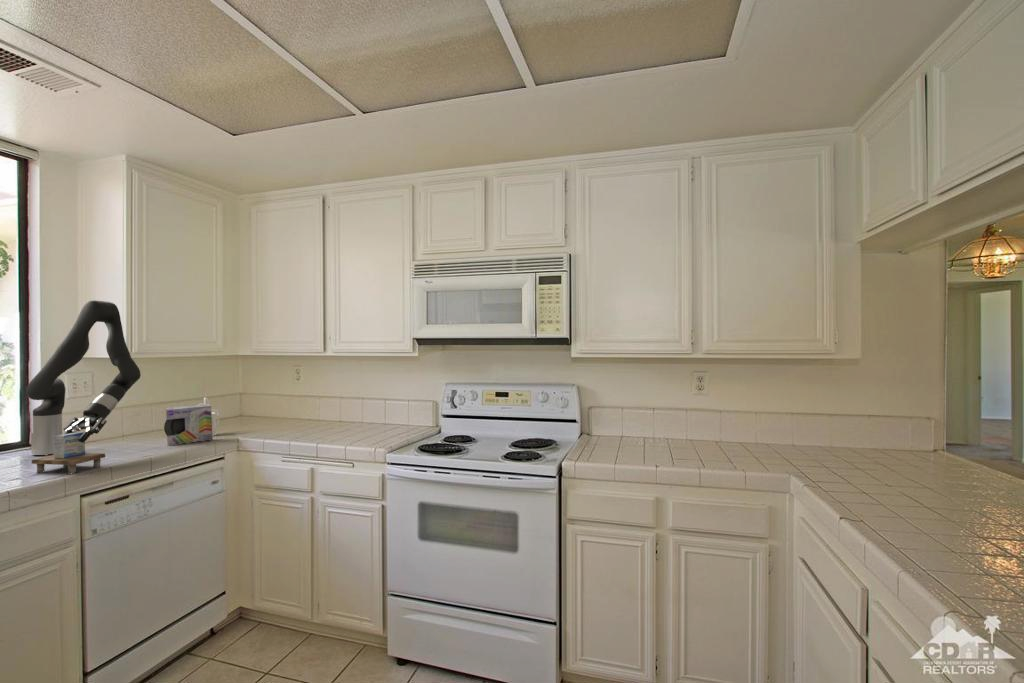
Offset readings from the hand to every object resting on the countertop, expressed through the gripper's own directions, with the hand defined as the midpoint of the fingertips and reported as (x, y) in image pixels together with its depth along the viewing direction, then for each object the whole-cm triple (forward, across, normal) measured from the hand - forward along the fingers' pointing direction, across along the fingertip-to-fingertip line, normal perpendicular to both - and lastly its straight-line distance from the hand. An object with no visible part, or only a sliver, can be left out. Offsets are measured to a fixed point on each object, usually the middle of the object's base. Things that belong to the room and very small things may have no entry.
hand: (71, 441), depth 181 cm
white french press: (-38, +1, +54) cm, 66 cm away
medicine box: (+5, 0, +4) cm, 6 cm away
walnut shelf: (+8, 0, +7) cm, 11 cm away
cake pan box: (-26, +6, +42) cm, 50 cm away
